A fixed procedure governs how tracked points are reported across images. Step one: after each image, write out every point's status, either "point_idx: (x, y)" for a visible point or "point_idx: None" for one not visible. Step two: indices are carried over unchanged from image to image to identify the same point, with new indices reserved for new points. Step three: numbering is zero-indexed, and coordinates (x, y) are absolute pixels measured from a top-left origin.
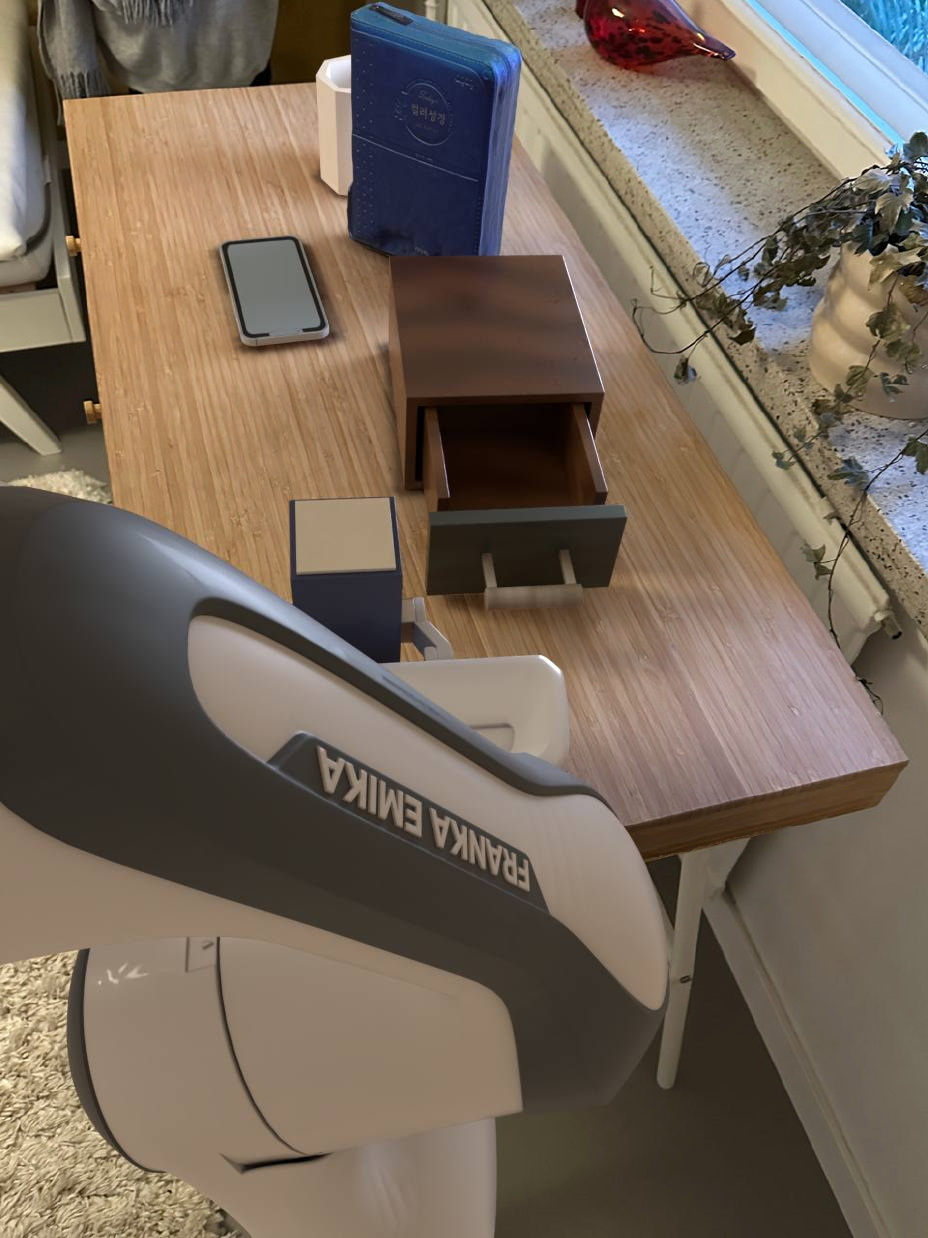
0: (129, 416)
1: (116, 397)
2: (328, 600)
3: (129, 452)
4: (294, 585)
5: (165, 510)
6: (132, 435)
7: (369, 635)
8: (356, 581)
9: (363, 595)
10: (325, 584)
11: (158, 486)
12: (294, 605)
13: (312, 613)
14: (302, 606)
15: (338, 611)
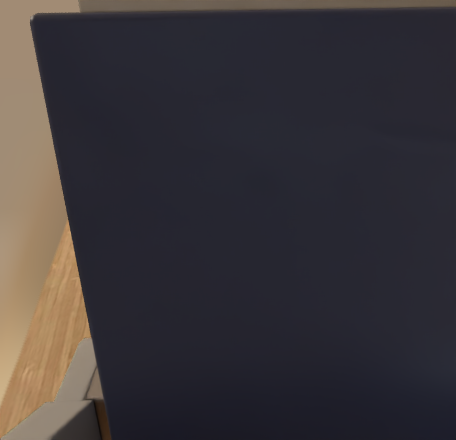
0: (71, 244)
1: (66, 234)
2: (251, 208)
3: (60, 264)
4: (59, 71)
5: (73, 304)
6: (68, 254)
7: (405, 422)
8: (424, 44)
9: (433, 177)
10: (241, 62)
11: (74, 286)
12: (79, 238)
13: (171, 295)
14: (119, 246)
15: (294, 286)
